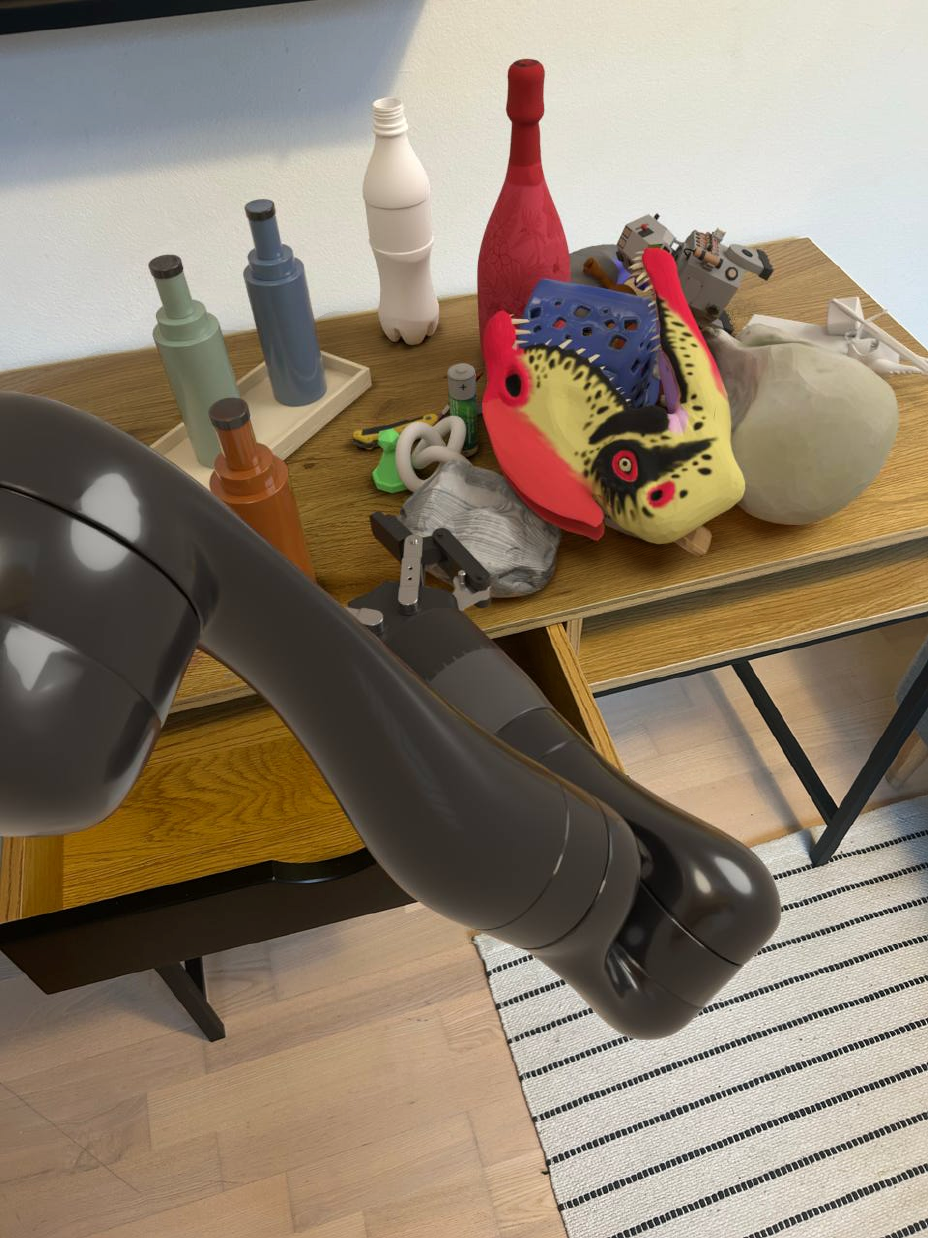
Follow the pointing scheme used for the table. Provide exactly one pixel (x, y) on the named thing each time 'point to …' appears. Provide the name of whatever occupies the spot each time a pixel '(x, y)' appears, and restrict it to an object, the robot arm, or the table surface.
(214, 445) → the grey-green bottle
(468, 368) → the battery
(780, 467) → the skull
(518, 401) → the toy
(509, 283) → the wine bottle
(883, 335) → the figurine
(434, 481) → the decorative stone
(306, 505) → the table surface
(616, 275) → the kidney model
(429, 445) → the knot
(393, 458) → the game piece
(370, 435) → the utility knife
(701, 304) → the figurine
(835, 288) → the table surface
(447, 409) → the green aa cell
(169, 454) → the tray
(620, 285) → the toy figurine
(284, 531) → the amber bottle
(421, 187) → the water bottle
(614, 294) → the flower pot
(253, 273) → the slate-blue bottle
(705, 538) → the sandal
